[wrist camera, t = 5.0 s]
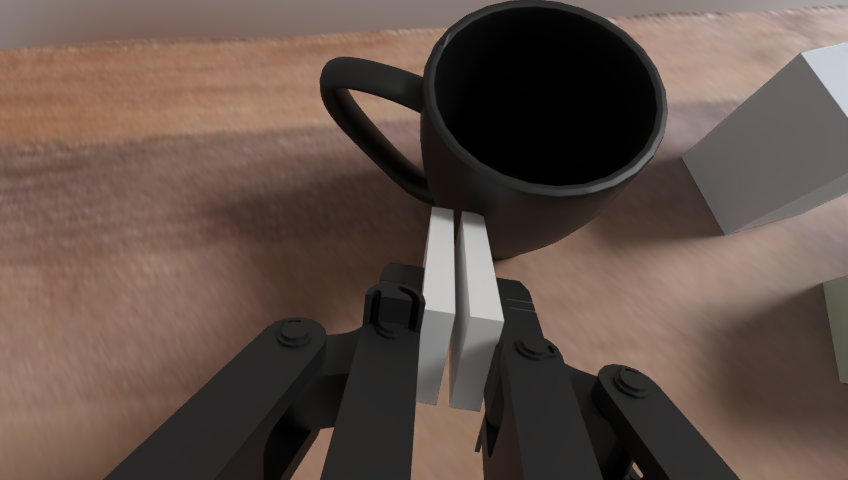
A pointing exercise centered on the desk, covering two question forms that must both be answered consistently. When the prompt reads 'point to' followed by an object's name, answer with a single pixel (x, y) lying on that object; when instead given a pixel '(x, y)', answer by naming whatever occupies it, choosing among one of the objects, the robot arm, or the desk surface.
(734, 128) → the block grey
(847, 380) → the block sage
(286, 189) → the desk surface
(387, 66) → the mug
